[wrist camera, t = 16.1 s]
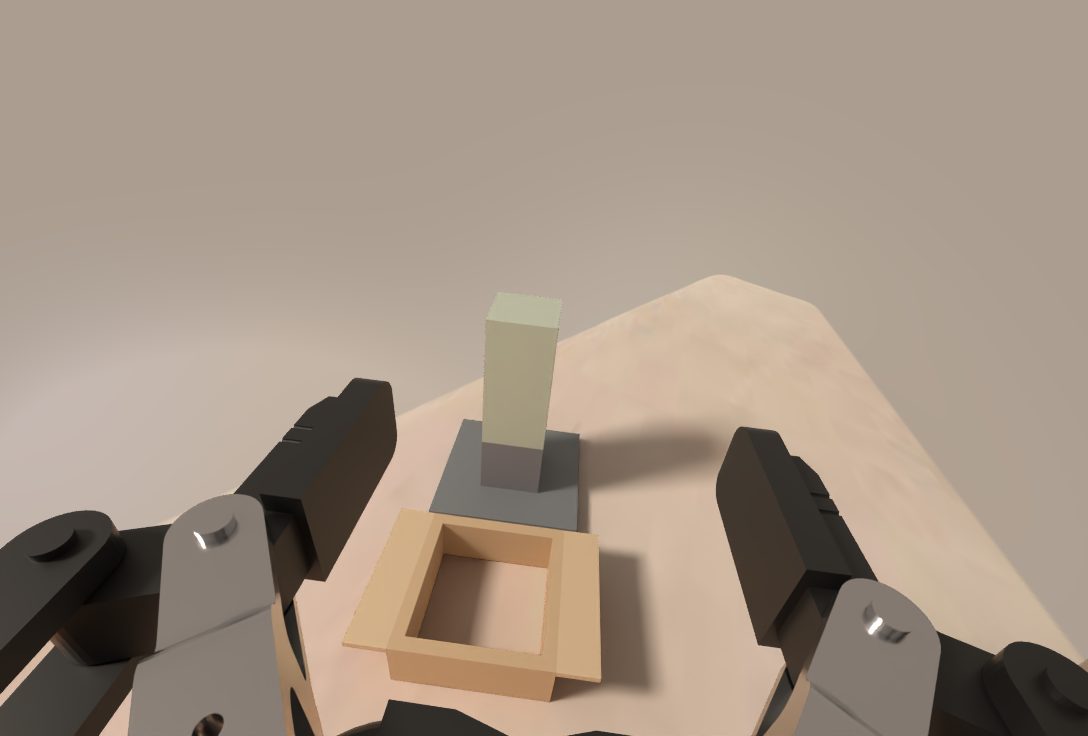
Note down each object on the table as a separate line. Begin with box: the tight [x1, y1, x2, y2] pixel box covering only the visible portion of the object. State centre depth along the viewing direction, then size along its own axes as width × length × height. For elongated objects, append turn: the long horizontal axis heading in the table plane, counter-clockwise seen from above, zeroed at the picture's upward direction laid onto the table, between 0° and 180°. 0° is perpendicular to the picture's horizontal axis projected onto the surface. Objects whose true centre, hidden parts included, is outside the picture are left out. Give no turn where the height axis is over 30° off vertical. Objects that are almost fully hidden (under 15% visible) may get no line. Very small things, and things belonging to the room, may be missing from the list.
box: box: [480, 292, 562, 493], centre depth 38 cm, size 5×5×16 cm
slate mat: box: [429, 419, 580, 532], centre depth 42 cm, size 12×12×1 cm
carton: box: [342, 509, 601, 702], centre depth 31 cm, size 15×10×4 cm, turn 85°
